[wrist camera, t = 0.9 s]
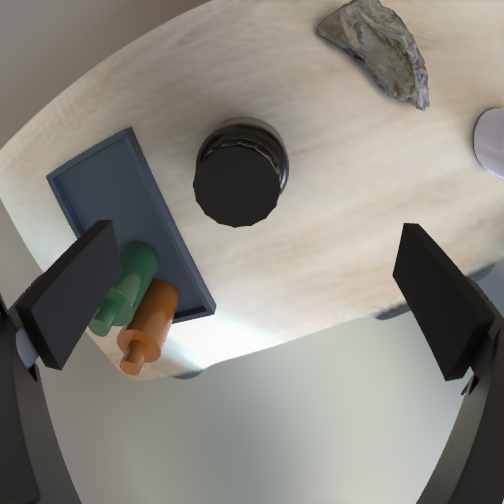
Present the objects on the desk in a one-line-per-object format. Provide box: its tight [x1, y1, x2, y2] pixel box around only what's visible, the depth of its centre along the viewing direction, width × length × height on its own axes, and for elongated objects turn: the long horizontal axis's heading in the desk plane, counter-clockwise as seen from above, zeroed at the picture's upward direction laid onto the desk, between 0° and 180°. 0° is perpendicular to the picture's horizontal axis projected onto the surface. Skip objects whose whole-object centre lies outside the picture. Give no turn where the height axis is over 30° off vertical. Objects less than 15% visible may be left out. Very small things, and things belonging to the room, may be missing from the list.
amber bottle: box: [117, 279, 180, 375], centre depth 38 cm, size 6×6×14 cm
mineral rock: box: [318, 0, 429, 111], centre depth 24 cm, size 13×11×10 cm
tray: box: [46, 127, 216, 324], centre depth 39 cm, size 27×14×2 cm, turn 20°
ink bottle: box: [193, 118, 289, 228], centre depth 29 cm, size 10×9×12 cm
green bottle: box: [88, 241, 160, 337], centre depth 35 cm, size 6×6×14 cm
